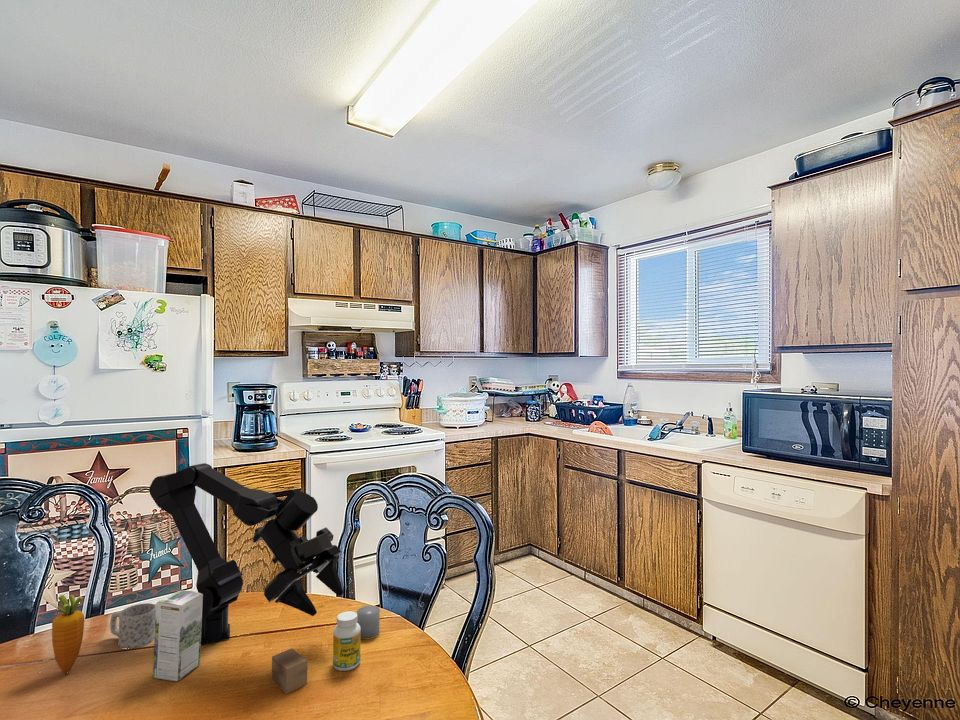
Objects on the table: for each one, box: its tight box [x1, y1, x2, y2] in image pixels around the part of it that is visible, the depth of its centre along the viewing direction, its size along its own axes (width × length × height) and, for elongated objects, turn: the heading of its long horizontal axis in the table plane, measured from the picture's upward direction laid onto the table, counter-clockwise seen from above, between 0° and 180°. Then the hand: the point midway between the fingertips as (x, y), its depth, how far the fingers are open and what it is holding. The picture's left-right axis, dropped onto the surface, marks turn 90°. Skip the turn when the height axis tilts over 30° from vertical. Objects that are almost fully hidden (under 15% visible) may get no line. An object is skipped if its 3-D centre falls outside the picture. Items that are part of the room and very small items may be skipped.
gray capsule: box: [356, 605, 381, 639], centre depth 112 cm, size 5×5×5 cm
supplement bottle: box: [332, 610, 361, 672], centre depth 100 cm, size 5×5×10 cm
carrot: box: [51, 594, 85, 674], centre depth 96 cm, size 5×5×15 cm
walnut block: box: [270, 647, 308, 695], centre depth 94 cm, size 6×4×4 cm, turn 47°
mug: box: [109, 602, 156, 650], centre depth 108 cm, size 10×7×7 cm, turn 80°
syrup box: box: [152, 589, 203, 682], centre depth 97 cm, size 6×6×14 cm
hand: (329, 604), depth 101 cm, fingers open, 9 cm apart
